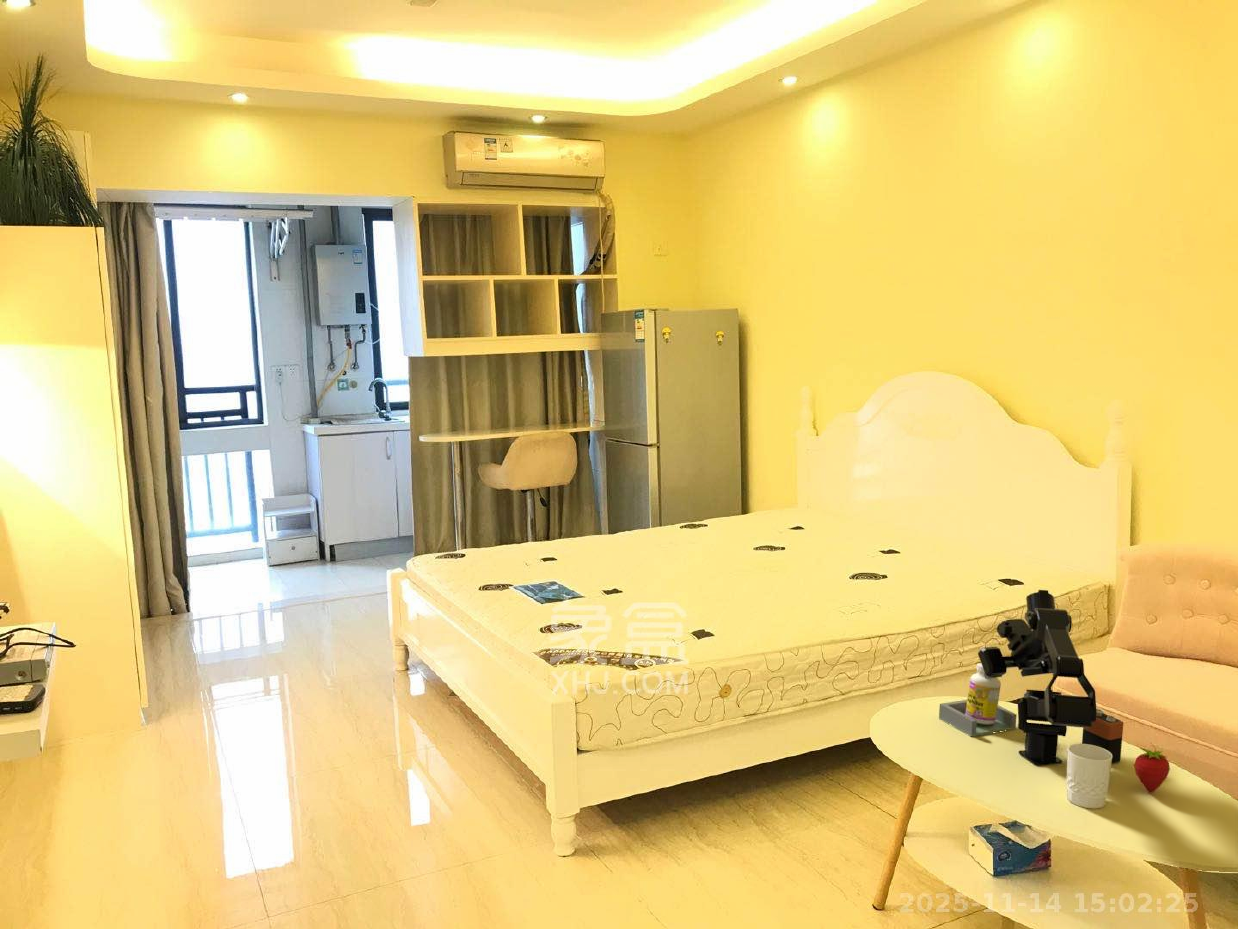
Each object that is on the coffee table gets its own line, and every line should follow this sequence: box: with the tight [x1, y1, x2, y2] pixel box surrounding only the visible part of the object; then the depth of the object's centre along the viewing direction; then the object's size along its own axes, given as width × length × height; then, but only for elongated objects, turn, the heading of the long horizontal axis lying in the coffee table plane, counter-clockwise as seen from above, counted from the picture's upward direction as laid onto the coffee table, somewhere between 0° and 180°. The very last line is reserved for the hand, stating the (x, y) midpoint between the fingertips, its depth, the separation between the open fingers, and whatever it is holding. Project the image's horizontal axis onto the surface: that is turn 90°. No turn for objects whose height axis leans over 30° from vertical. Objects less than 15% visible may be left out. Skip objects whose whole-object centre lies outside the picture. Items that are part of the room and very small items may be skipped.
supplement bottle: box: [965, 662, 1002, 724], centre depth 234 cm, size 7×7×13 cm
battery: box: [1081, 708, 1124, 765], centre depth 217 cm, size 4×7×10 cm, turn 24°
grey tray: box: [938, 699, 1018, 737], centre depth 235 cm, size 11×12×4 cm
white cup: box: [1066, 743, 1112, 810], centre depth 198 cm, size 8×8×10 cm
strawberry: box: [1133, 742, 1171, 794], centre depth 202 cm, size 6×8×10 cm
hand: (1003, 675), depth 233 cm, fingers open, 9 cm apart
